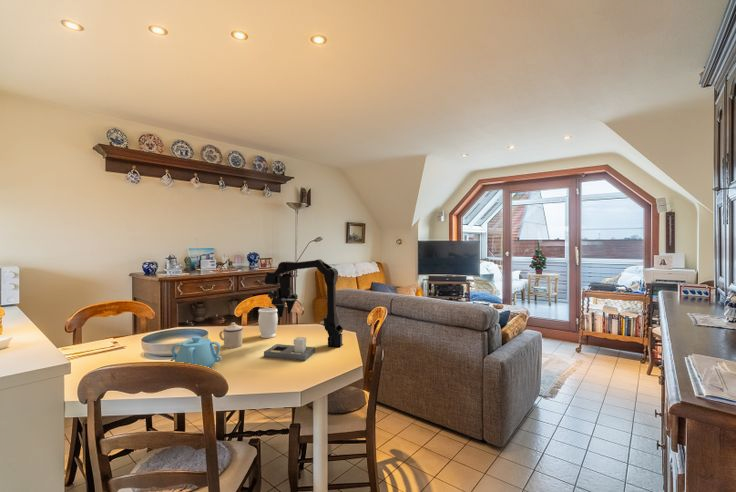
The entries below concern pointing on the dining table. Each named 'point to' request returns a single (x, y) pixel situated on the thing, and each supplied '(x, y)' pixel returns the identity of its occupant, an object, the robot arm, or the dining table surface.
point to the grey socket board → (288, 352)
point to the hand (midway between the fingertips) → (285, 315)
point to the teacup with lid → (232, 336)
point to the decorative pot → (197, 352)
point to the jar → (268, 322)
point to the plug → (300, 344)
